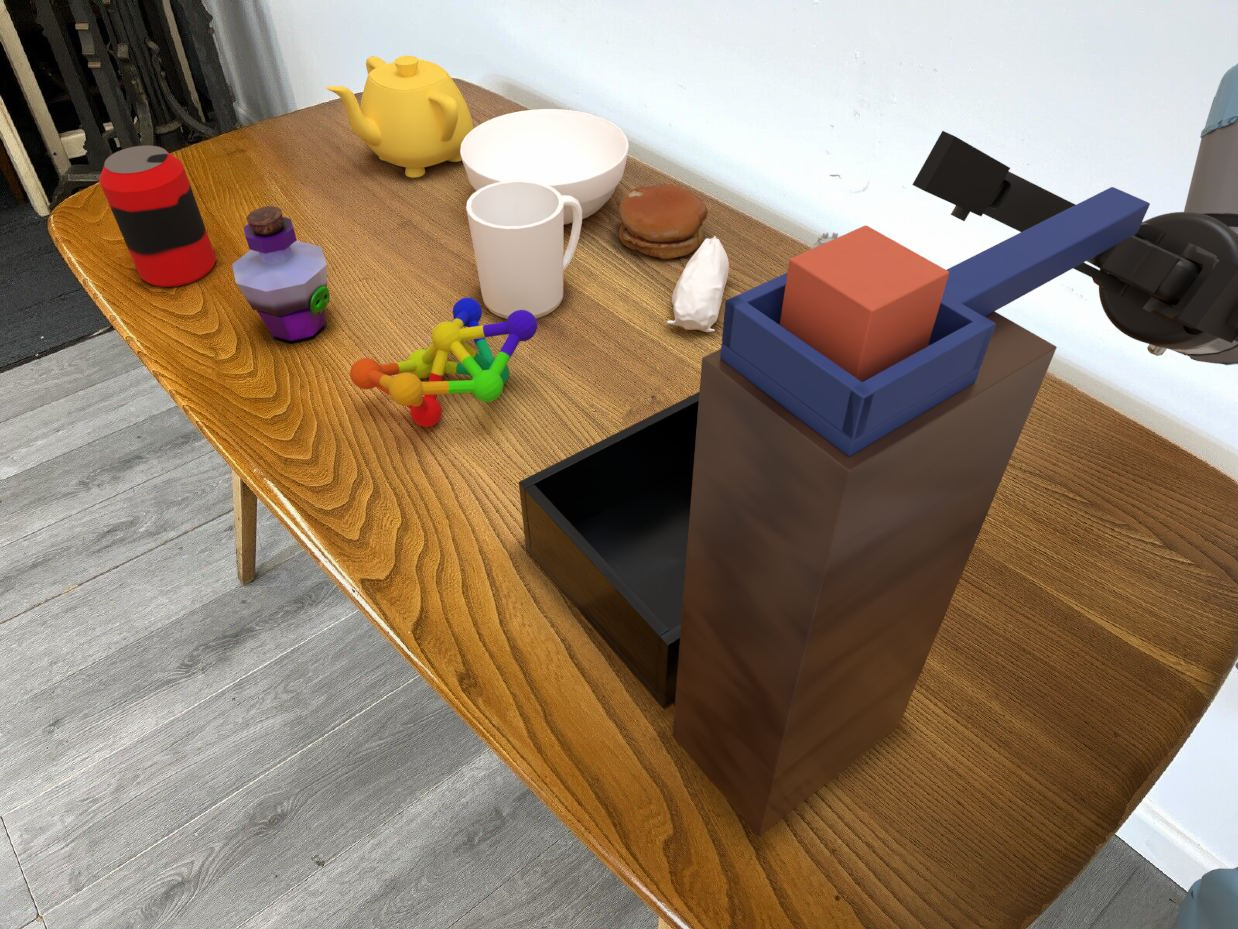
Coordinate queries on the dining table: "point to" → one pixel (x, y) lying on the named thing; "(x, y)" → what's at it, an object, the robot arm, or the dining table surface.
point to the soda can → (157, 215)
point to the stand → (827, 571)
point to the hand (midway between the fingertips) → (1056, 220)
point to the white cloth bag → (701, 288)
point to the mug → (521, 245)
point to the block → (863, 301)
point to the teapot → (409, 113)
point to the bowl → (549, 154)
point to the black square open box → (622, 538)
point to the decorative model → (449, 363)
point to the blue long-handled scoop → (957, 337)
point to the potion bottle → (283, 277)
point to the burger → (662, 221)
